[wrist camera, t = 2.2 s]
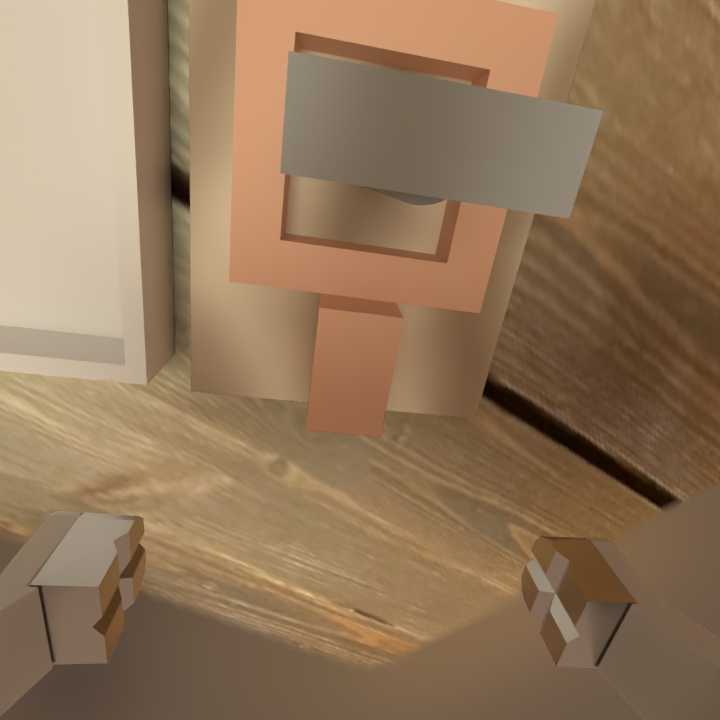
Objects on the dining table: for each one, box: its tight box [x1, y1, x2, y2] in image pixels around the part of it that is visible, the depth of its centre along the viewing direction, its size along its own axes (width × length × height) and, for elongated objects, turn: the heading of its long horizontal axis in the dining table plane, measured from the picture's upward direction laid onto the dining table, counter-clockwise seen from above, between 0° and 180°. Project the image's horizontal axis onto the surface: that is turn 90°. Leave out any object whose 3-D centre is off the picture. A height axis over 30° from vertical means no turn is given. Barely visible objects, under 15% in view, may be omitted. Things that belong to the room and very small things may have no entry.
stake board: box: [189, 0, 604, 419], centre depth 13 cm, size 14×18×13 cm
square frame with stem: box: [229, 0, 559, 437], centre depth 16 cm, size 10×15×4 cm, turn 172°
